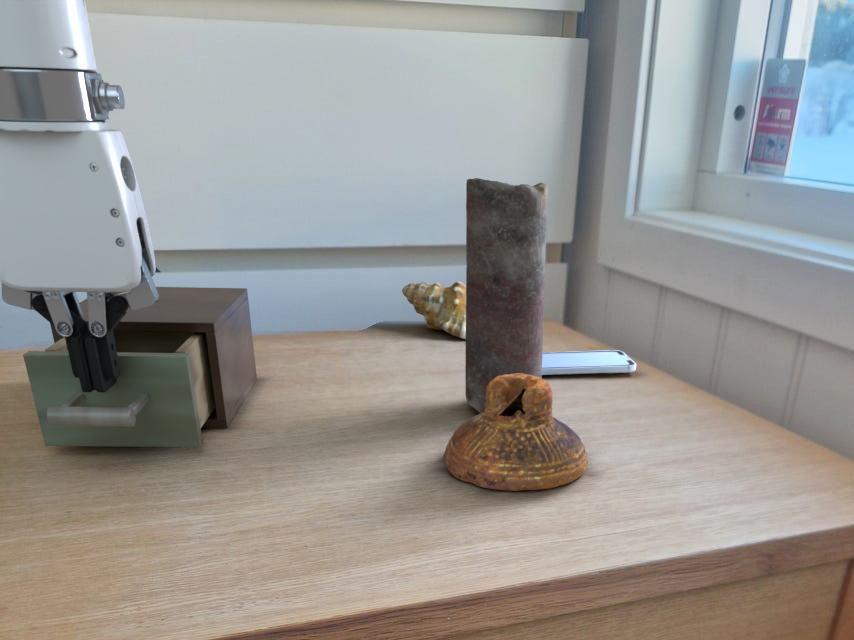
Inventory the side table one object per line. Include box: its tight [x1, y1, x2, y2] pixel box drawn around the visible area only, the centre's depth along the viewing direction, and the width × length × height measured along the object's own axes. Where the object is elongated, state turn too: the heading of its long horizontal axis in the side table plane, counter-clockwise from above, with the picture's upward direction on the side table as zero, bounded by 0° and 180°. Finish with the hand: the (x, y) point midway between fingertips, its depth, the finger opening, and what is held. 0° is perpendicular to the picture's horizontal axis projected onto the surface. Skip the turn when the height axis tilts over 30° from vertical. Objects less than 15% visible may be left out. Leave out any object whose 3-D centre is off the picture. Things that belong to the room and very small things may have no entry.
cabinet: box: [49, 286, 258, 429], centre depth 83 cm, size 16×14×9 cm
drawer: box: [22, 331, 216, 448], centre depth 73 cm, size 20×12×7 cm, turn 2°
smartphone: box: [542, 349, 637, 376], centre depth 99 cm, size 7×1×15 cm
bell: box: [443, 373, 589, 492], centre depth 71 cm, size 12×12×7 cm
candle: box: [464, 177, 549, 414], centre depth 81 cm, size 8×7×20 cm
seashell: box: [401, 281, 466, 340], centre depth 112 cm, size 9×8×10 cm
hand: (100, 386), depth 67 cm, fingers closed
